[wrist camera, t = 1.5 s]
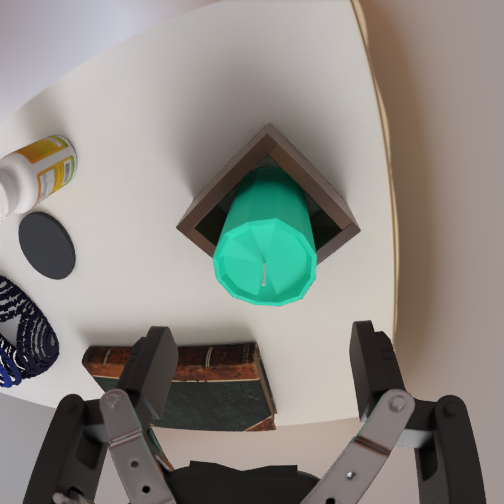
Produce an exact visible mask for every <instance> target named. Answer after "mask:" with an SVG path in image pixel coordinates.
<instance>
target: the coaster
mask: <svg viewBox="0 0 504 504" xmlns="http://www.w3.org/2000/svg"><path fill="white" fill-rule="evenodd" d="M19 242H20V246H21V249H22V251H23V253H24V255H25V257H26V258H27V260H28V261H29V263H30V264H31V265H32V266H33V267H34V268H35V269H36V270H37V271H38V272H39V273H41V274H42V275H44V276H46V277H48V278H51V279H56V280H59V279H63V278H66V277H67V276H68V275H69V274H70V273H71V272H72V270H73V268H74V265H75V250H74V247H73V244H72V241H71V239H70V237H69V235H68V234H67V232H66V231H65V229H64V228H63V227H62V225H61V224H60V223H59V222H58V221H57V220H55V219H54V218H53V217H51V216H49V215H48V214H45V213H42V212H33V213H30V214H28V215H27V216H26V217H25V218H24V219H23V220H22V221H21V224H20V226H19Z"/></svg>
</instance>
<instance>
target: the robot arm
mask: <svg viewBox="0 0 504 504" xmlns="http://www.w3.org/2000/svg"><path fill="white" fill-rule="evenodd" d="M349 353H350V362H351V367H352V373H353V379H354V385H355V391H356V398H357V404H358V411H359V418H360V422H364V421H366V422H365V424H364V425H363V427H362V428H361V430H360V431H359V433H358V434H357V435H356V436H355V437H353V439H352V440H351V441H350V442H349V444H348V445H347V446H346V448H345V449H344V450H343V452H342V453H341V454H340V456H339V457H338V458H337V460H336V461H335V462H334V464H333V465H332V466H331V468H330V469H329V470H328V471H327V473H326V474H325V475H324V476H323V478H322V479H319V478H317V477H316V476H314V475H312V474H309V473H306V472H302V471H297V465H286V466H285V465H283V466H282V465H281V466H266V467H261V468H256V469H251V470H245V471H240V470H236V469H233V468H229V467H226V466H223V465H220V464H217V463H209V462H199V461H190V465H189V467H183V468H179V469H176V470H174V468H173V467H172V465H171V464H170V462H169V461H168V459H167V458H166V456H165V454H164V452H163V451H162V448H161V446H160V444H159V443H158V440H157V438H156V436H155V434H154V432H153V430H152V428H151V426H150V422H151V419H157V420H160V419H161V415H162V412H163V409H164V405H165V402H166V398H167V395H168V392H169V389H170V385H171V382H172V379H173V375H174V372H175V369H176V366H177V363H178V349H177V347H176V344H175V342H174V339H173V337H172V334H171V331H170V329H169V327H162V326H152V327H151V328H150V329H149V332H148V334H147V336H146V337H141V338H140V339H139V340H138V341H137V342H136V343H135V344H134V346H133V348H132V351H131V353H130V355H129V357H128V359H127V362H126V364H125V366H124V368H123V371H122V373H121V375H120V378H119V380H118V382H117V385H116V387H115V389H112V390H109V391H107V392H106V393H105V394H103V396H102V397H101V399H95V400H87V401H84V400H83V399H82V398H81V397H80V396H79V395H77V394H70V395H67V396H65V397H64V398H63V399H62V400H61V401H60V403H59V405H58V407H57V410H56V412H55V414H54V417H53V419H52V421H51V424H50V426H49V429H48V431H47V434H46V436H45V439H44V442H43V444H42V447H41V450H40V453H39V455H38V458H37V461H36V464H35V466H34V469H33V472H32V475H31V478H30V481H29V484H28V488H27V491H26V494H25V497H24V500H23V504H95V503H94V498H95V494H96V490H97V486H98V482H99V478H100V475H101V471H102V467H103V463H104V460H105V456H106V453H107V449H108V447H109V451H110V453H111V456H112V459H113V462H114V464H115V467H116V469H117V472H118V475H119V477H120V479H121V482H122V484H123V486H124V489H125V491H126V493H127V496H128V498H129V500H130V503H129V504H357V503H358V502H359V500H360V499H361V497H362V496H363V495H364V493H365V492H366V490H367V489H368V488H369V486H370V485H371V483H372V481H373V480H374V479H375V477H376V476H377V474H378V473H379V471H380V470H381V468H382V466H383V465H384V463H385V462H386V460H387V458H388V457H389V455H390V453H391V451H392V449H393V447H394V446H401V447H409V448H414V451H415V459H416V468H417V477H418V487H419V500H420V504H486V497H485V491H484V484H483V478H482V473H481V467H480V462H479V457H478V452H477V448H476V443H475V439H474V435H473V431H472V427H471V423H470V419H469V416H468V412H467V408H466V405H465V403H464V402H463V400H462V399H460V398H459V397H457V396H454V395H446V396H443V397H441V398H440V399H439V400H438V401H437V402H431V401H422V400H418V399H415V398H414V397H412V395H411V394H410V393H408V392H407V391H406V389H405V387H404V383H403V380H402V376H401V373H400V369H399V366H398V363H397V359H396V356H395V353H394V351H393V346H392V343H391V340H390V339H389V337H388V336H387V335H386V334H385V333H384V332H383V331H380V332H375V331H374V328H373V325H372V322H371V320H367V321H356V322H353V326H352V333H351V340H350V348H349ZM109 442H111V443H110V444H109Z"/></svg>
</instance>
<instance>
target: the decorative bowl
mask: <svg viewBox="0 0 504 504" xmlns="http://www.w3.org/2000/svg"><path fill="white" fill-rule="evenodd" d="M4 281H6V283H7V284H6V285H5V286H4V287H2V288H0V292H2V291H4V290H6V289H9V288H10V287H11V286H13V288H10V290H9V291H6V292H5V293H3V294H0V301H2V300H4V299H5V300H6V299H7V300H9V297H10V296H11V297H15V296H16V295H18V294H19V293H20V292H21V294H20V295H19V296H18V297H17V300H16V299H14V302H13V301H12V300H11V301H9V302H8V303H6V304H5V305H0V312H1V311H3V310H4V312H6V311H8V308H10V307H11V306H14V307H16V304H17V303H18V304H20V301H21V300H22V299H23V300H25V299H27V300H26V301H25V302H24V303H22V304H21V305H20V306H18V307H17V310H16V313H15V310H13V311H12V310H11V311H9V314H8V313H6V314H5V313H4V314H2V315H0V318H1V320H0V322H6V321H7V320H9V319H11V318H12V319H13V318H14V317H13V316H15V317H16V316H17V315H19V314H21V319H20V322H21V323H19V324H18V329H17V330H18V331H17V339H16V341H17V343H16V344H17V345H16V347H17V348H18V349H19V350H18V349H17V348H16V347H14V346H13V345H12V344H10V343H9V342H8V341H7V340H6V339H5V338H4V337H3V336H2V335H1V334H0V339H1V338H2V339H1V340H0V355H1V360H2V362H3V364H4V368H5V369H4V368H3V365H2V364H1V362H0V374H1V375H2V376H3V377H2V376H0V380H2V381H4V382H5V383H4V384H3V383H0V386H1V387H7V388H10V387H12V385H19V384H20V383H21V381H22V379H25V378H27V379H28V378H29V379H30V378H31V377H36V376H37V375H40V374H41V373H44V371H47V370H48V369H49V368H50V367H51V366H52V365H53V363H54V362H55V361H56V359H57V358H58V355H59V346H58V345H59V343H58V340H57V337H56V334H55V333H54V332H53V329H52V327H51V326H50V324H49V323H48V321H47V318H45V316H43V313H41V310H39V308H37V306H36V305H35V303H33V302H32V301H31V300H30V298H29V297H27V295H26V294H25V293H24V292H23V291H21V289H20V288H19V287H17V285H14V284H13V283H12V282H10V280H8V279H6V277H3V276H1V275H0V284H1V283H2V282H4ZM28 301H29V303H28ZM27 303H28V305H27V306H26V307H25V305H26V304H27ZM31 304H32V306H31V307H30V308H28V307H29V306H30V305H31ZM33 307H34V309H33V310H34V311H35V312H34V313H33V314H31V315H30V313H31V311H32V308H33ZM24 308H26V309H27V310H26V311H25V312H23V309H24ZM6 316H7V318H5V317H6ZM38 316H39V318H38ZM28 318H29V319H28ZM37 318H38V320H37V323H36V324H35V322H33V321H34V320H36V319H37ZM41 318H43V319H44V320H43V323H42V324H41V328H40V329H41V330H40V331H39V332H38V340H37V341H38V345H37V348H38V350H39V355H40V357H41V358H42V359H43V360H40V358H39V356H38V354H37V353H36V351H35V346H36V345H35V343H34V342H35V334H36V333H37V332H36V331H37V328H38V327H37V326H38V324H39V323H40V322H41ZM25 319H28V321H27V320H25ZM23 320H24V322H22V321H23ZM26 322H27V326H26V327H25V325H26ZM34 324H35V325H36V326H35V328H34V329H33V327H34ZM46 324H47V327H46V329H45V332H44V333H43V334H44V335H43V337H42V338H43V340H42V341H43V342H42V344H43V346H42V347H43V350H44V352H45V354H46V356H47V357H49V356H50V357H52V358H47V357H44V356H43V353H42V351H41V346H40V345H41V343H40V342H41V336H42V335H41V334H42V331H43V328H44V326H45V325H46ZM25 328H26V329H25ZM31 330H34V331H33V333H34V335H33V336H32V335H31V334H32V332H31ZM24 331H25V335H24V336H22V335H23V332H24ZM21 334H22V335H21ZM52 335H53V338H54V341H55V343H54V344H55V346H52V345H51V343H50V342H51V337H52ZM31 336H32V341H33V342H32V347H33V348H31V346H30V345H31ZM23 338H24V339H26V340H25V341H24V342H23ZM3 340H4V341H3ZM19 340H20V341H19ZM2 341H3V343H4V344H3V347H2V348H1V344H2ZM22 343H24V346H23V344H22ZM10 346H11V348H12V349H10ZM7 347H8V348H7ZM6 348H7V353H6V352H5V350H6ZM23 348H26V350H25V353H24V352H23V350H24V349H23ZM9 349H10V351H11V352H9ZM31 349H32V350H33V352H34V354H36V355H34V357H33V356H32V354H31V353H32V351H31ZM15 350H17V351H16V354H15V355H16V356H15V360H16V363H17V365H18V366H20V367H22V368H24V369H25V370H23V369H21V368H19V367H17V365H16V364H15V363H14V360H13V353H14V352H15ZM8 352H9V353H8ZM27 352H28V353H29V354H28V353H27ZM8 354H9V356H10V357H9V356H8ZM23 356H26V358H27V360H28V362H27V361H26V359H25V358H24V357H23ZM7 364H8V365H9V367H8V365H7ZM38 364H39V365H38ZM21 371H23V372H21ZM9 372H10V373H9ZM11 373H12V374H11ZM9 375H10V376H11V377H13V378H15V381H11V378H10V376H9Z"/></svg>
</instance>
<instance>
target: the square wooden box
mask: <svg viewBox="0 0 504 504" xmlns="http://www.w3.org/2000/svg"><path fill="white" fill-rule="evenodd" d="M267 154H268V155H269V156H270V157H271V158H272V159H273V160H274V161H275V162H276V163H277V164H278V165H279V166H280V167H281V168H282V169H283V170H284V171H285V172H286V173H287V174H288V175H289V176H290V177H291V178H292V179H293V180H294V181H295V182H296V183H297V184H298V185H299V186H300V187H301V188H302V189H303V190H304V191H305V192H306V193H307V194H308V195H309V196H310V197H311V198H312V199H313V200H314V201H315V202H316V203H317V204H318V205H319V206H320V207H321V208H322V210H321V211H320V212H318V213H317V214H316V215H315V216H314V217H312V218H311V219H310V224H311V228H312V233H313V239H314V244H315V249H316V254H317V264H316V266H317V265H318V264H319V263H321V262H322V261H323V260H325V259H326V258H327V257H328V256H330V255H331V254H332V253H334V252H335V251H336V250H337V249H339V248H340V247H341V246H343V245H344V244H345V243H346V242H348V241H349V240H350V239H351V238H353V237H354V236H355V235H356V234H358V233H359V232H360V231H361V230H360V228H359V226H358V224H357V222H356V220H355V218H354V216H353V214H352V212H351V210H350V208H349V206H348V204H347V202H346V201H345V200H344V199H343V197H342V196H341V195H340V194H339V193H338V192H337V191H336V190H335V189H334V188H333V187H332V185H331V184H330V183H329V182H328V181H327V180H326V179H325V178H324V177H323V176H322V175H321V174H320V173H319V172H318V170H317V169H316V168H315V167H314V166H313V165H312V164H311V163H310V162H309V161H308V160H307V159H306V158H305V157H304V156H303V155H302V154H301V153H300V152H299V151H298V150H297V149H296V148H295V147H294V146H293V145H292V144H291V143H290V142H289V141H288V140H287V139H286V138H285V137H284V136H283V135H282V134H281V133H280V132H278V130H277V129H276V128H275V127H274V126H273V125H271V124H270V123H268V124H267V125H266V126H265V127H264V128H263V129H262V130H261V131H260V132H259V133H258V134H257V135H256V136H255V137H254V138H253V139H252V140H251V141H250V142H249V143H248V144H247V145H246V146H245V147H244V148H243V149H242V150H241V151H240V152H239V153H238V154H237V155H236V156H235V157H234V158H233V159H232V160H231V161H230V162H229V163H228V164H227V165H226V166H225V167H224V168H223V169H222V170H221V171H220V172H219V173H218V174H217V175H216V176H215V178H214V179H213V180H212V181H211V182H210V183H209V184H208V185H207V186H206V187H205V188H204V189H203V190H202V191H201V192H200V194H199V195H198V196H197V197H196V198H195V199H194V200H193V202H192V203H191V205H190V206H189V208H188V209H187V211H186V212H185V214H184V216H183V217H182V219H181V220H180V222H179V223H178V225H177V227H176V228H177V229H178V230H179V231H180V232H181V233H183V234H184V235H185V236H186V237H187V238H189V239H190V240H191V241H192V242H193V243H195V244H196V245H197V246H198V247H199V248H201V249H202V250H203V251H204V252H206V253H207V254H208V255H209V256H210V257H212V258H213V255H214V252H215V249H216V246H217V244H218V241H219V238H220V235H221V232H222V229H223V226H224V224H225V221H226V218H227V215H225V214H224V213H223V212H222V211H221V210H220V209H219V208H217V207H216V205H217V204H218V203H219V202H220V201H221V200H222V199H223V198H224V197H225V196H226V194H227V193H228V192H229V191H230V190H231V189H232V188H234V187H235V186H236V185H237V184H238V183H239V182H240V181H241V180H242V179H243V178H244V177H245V176H246V175H247V174H248V173H249V172H250V171H251V170H252V169H253V168H254V167H255V166H256V165H257V164H258V163H259V162H260V161H261V160H262V159H263V158H264V157H265V156H266V155H267Z"/></svg>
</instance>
